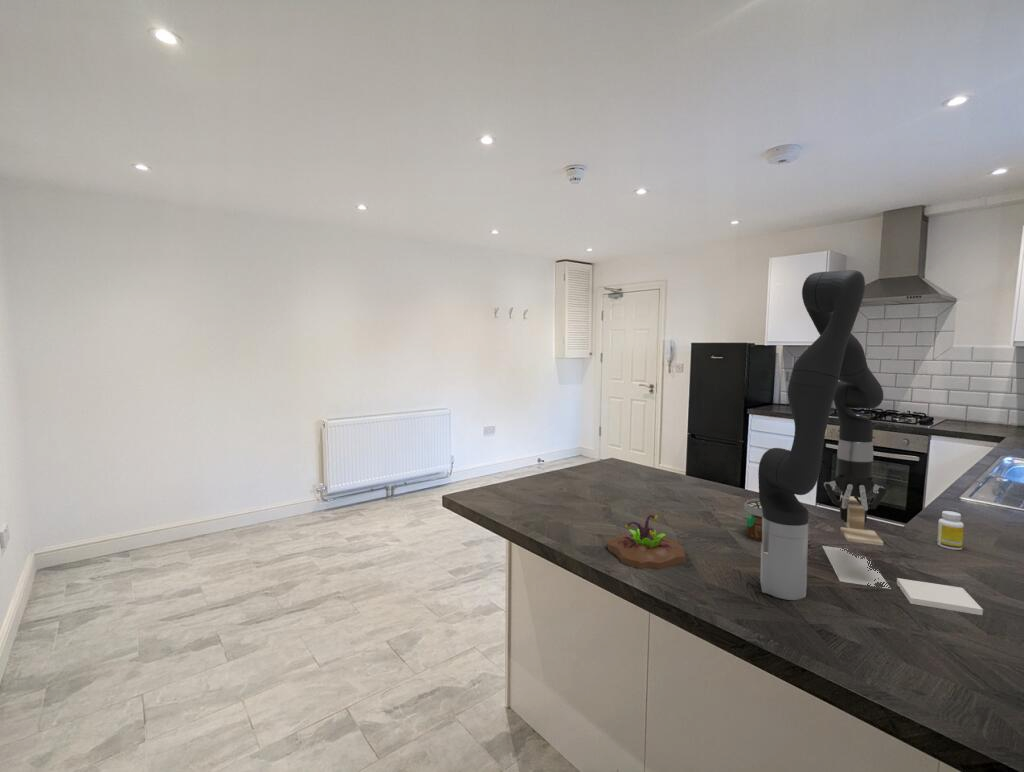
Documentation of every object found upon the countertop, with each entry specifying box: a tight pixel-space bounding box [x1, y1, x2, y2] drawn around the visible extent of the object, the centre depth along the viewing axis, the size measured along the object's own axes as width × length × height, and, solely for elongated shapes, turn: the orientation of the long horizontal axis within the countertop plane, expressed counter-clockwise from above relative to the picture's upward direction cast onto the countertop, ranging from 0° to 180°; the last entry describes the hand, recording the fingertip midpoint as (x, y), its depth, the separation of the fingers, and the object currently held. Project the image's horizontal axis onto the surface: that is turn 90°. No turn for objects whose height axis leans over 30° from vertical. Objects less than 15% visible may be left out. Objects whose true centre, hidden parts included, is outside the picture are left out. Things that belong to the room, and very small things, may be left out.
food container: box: [743, 498, 763, 542], centre depth 147 cm, size 12×6×10 cm, turn 141°
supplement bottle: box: [936, 510, 965, 551], centre depth 137 cm, size 5×5×10 cm
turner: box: [839, 494, 884, 546], centre depth 124 cm, size 20×7×6 cm, turn 156°
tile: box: [896, 577, 984, 616], centre depth 108 cm, size 12×2×10 cm
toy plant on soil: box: [606, 513, 686, 570], centre depth 135 cm, size 20×20×11 cm
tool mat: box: [821, 545, 892, 590], centre depth 125 cm, size 10×23×1 cm, turn 157°
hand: (852, 522), depth 127 cm, fingers closed on turner, 3 cm apart
